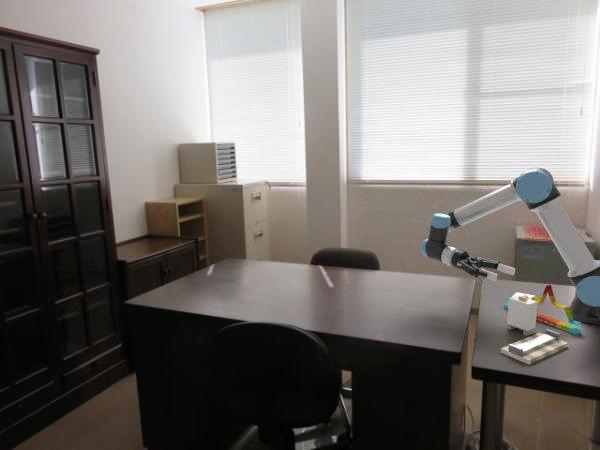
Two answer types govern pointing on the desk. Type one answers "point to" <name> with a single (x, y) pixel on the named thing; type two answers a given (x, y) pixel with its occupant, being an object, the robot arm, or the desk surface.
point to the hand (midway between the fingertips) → (505, 275)
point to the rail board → (536, 350)
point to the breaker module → (522, 314)
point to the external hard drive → (523, 295)
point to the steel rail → (534, 343)
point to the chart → (549, 320)
